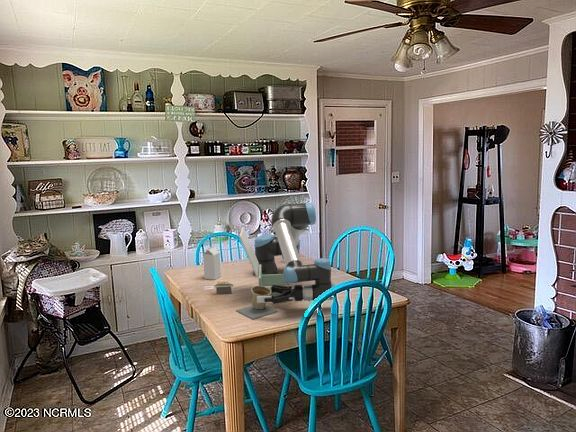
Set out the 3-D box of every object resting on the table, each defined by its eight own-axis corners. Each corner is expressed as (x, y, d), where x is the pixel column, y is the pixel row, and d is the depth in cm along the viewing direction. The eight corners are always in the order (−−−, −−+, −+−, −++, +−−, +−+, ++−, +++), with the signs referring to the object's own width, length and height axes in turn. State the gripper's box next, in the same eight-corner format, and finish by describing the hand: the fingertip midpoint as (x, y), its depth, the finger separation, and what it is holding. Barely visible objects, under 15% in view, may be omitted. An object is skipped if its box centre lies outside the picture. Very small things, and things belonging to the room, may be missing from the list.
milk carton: (220, 276, 266) (219, 245, 263) (215, 280, 259) (213, 248, 256) (210, 275, 268) (208, 245, 265) (204, 279, 261) (202, 247, 258)
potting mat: (236, 311, 209) (236, 310, 209) (260, 304, 217) (260, 302, 217) (253, 319, 198) (253, 318, 198) (277, 311, 207) (277, 310, 207)
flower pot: (265, 313, 205) (268, 297, 202) (246, 308, 207) (248, 292, 204) (270, 304, 214) (273, 288, 211) (252, 299, 216) (254, 284, 213)
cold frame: (288, 283, 248) (288, 263, 246) (291, 300, 222) (291, 277, 220) (259, 285, 247) (259, 264, 245) (259, 301, 221) (258, 278, 219)
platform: (208, 291, 241) (207, 279, 240) (241, 289, 242) (241, 277, 241) (205, 298, 229) (205, 286, 228) (240, 296, 230) (240, 284, 229)
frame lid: (243, 226, 241) (242, 227, 241) (240, 236, 215) (239, 236, 215) (258, 262, 245) (257, 263, 245) (257, 276, 219) (256, 277, 219)
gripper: (305, 310, 195) (257, 312, 195) (301, 291, 220) (258, 293, 219) (304, 293, 194) (256, 295, 193) (300, 277, 219) (257, 279, 218)
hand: (257, 294), depth 206 cm, fingers open, 13 cm apart
